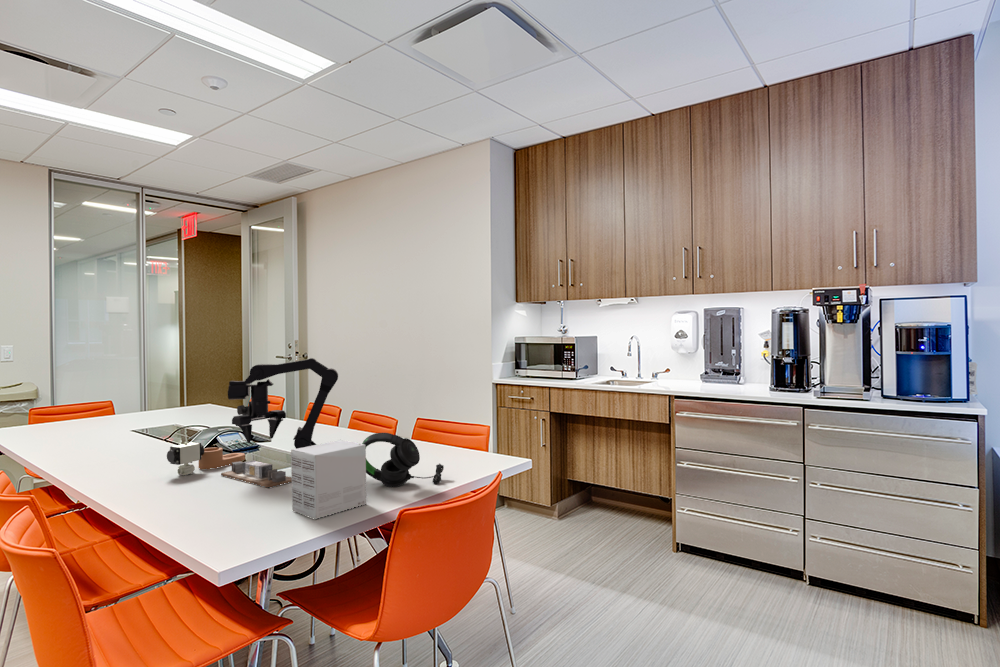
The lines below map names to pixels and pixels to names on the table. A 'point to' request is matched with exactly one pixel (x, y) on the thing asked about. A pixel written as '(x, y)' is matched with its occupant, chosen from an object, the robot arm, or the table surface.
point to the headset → (397, 461)
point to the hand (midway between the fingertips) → (260, 440)
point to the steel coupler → (256, 469)
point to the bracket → (218, 458)
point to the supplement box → (328, 478)
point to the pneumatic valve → (185, 456)
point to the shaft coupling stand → (270, 481)
